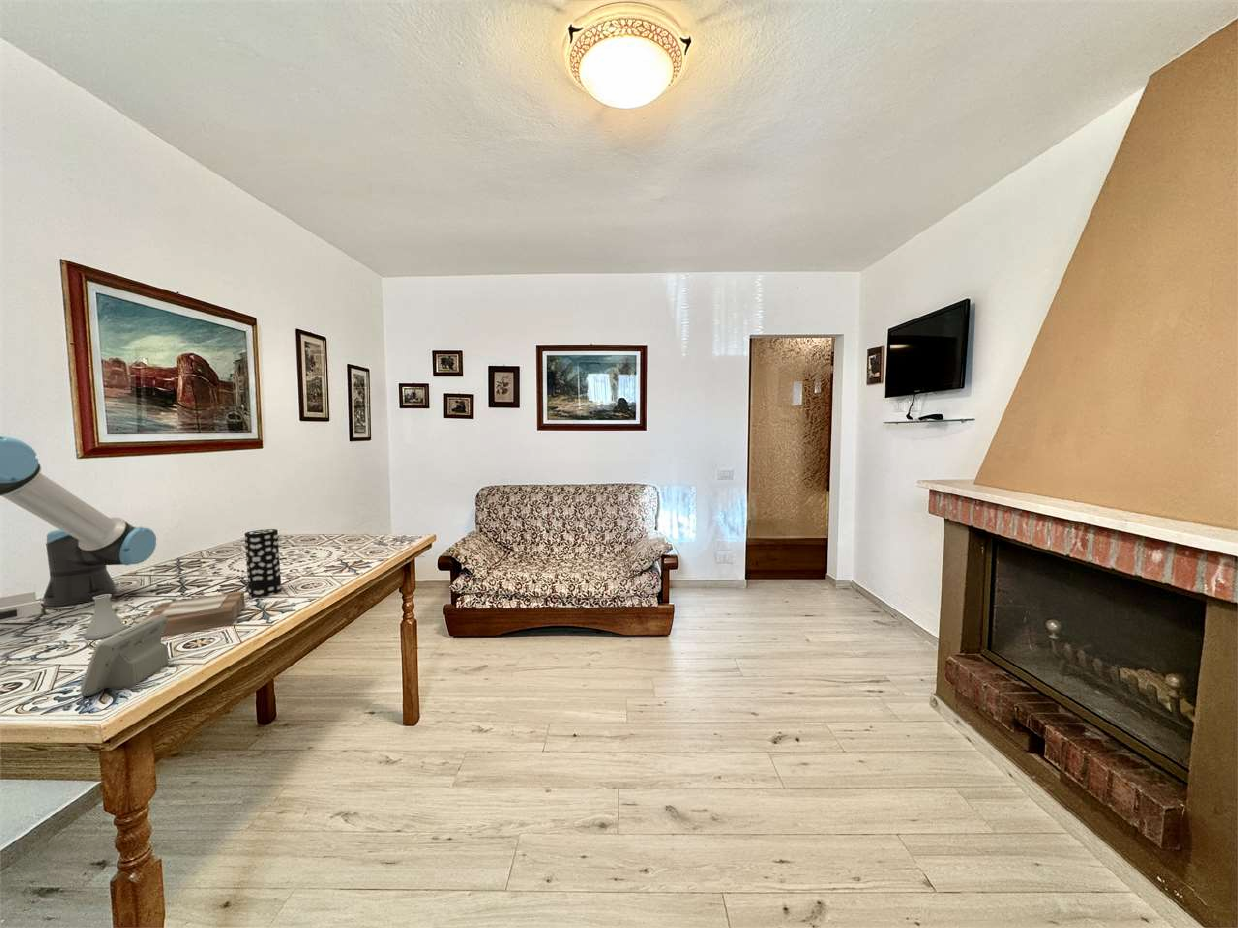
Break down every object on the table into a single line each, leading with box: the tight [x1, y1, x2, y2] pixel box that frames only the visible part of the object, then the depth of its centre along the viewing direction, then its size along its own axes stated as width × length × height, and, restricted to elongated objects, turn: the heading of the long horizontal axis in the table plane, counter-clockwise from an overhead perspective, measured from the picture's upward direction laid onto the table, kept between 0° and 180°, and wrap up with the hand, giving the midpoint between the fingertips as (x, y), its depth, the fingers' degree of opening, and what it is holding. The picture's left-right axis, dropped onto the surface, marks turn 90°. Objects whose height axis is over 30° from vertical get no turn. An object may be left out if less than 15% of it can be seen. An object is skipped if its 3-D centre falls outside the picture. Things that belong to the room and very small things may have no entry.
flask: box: [83, 594, 127, 640], centre depth 118 cm, size 7×7×10 cm
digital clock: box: [80, 614, 169, 697], centre depth 96 cm, size 16×9×11 cm, turn 179°
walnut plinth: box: [140, 590, 245, 638], centre depth 126 cm, size 18×18×4 cm
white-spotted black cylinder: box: [244, 528, 282, 598], centre depth 147 cm, size 8×8×20 cm
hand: (38, 601), depth 109 cm, fingers open, 13 cm apart
